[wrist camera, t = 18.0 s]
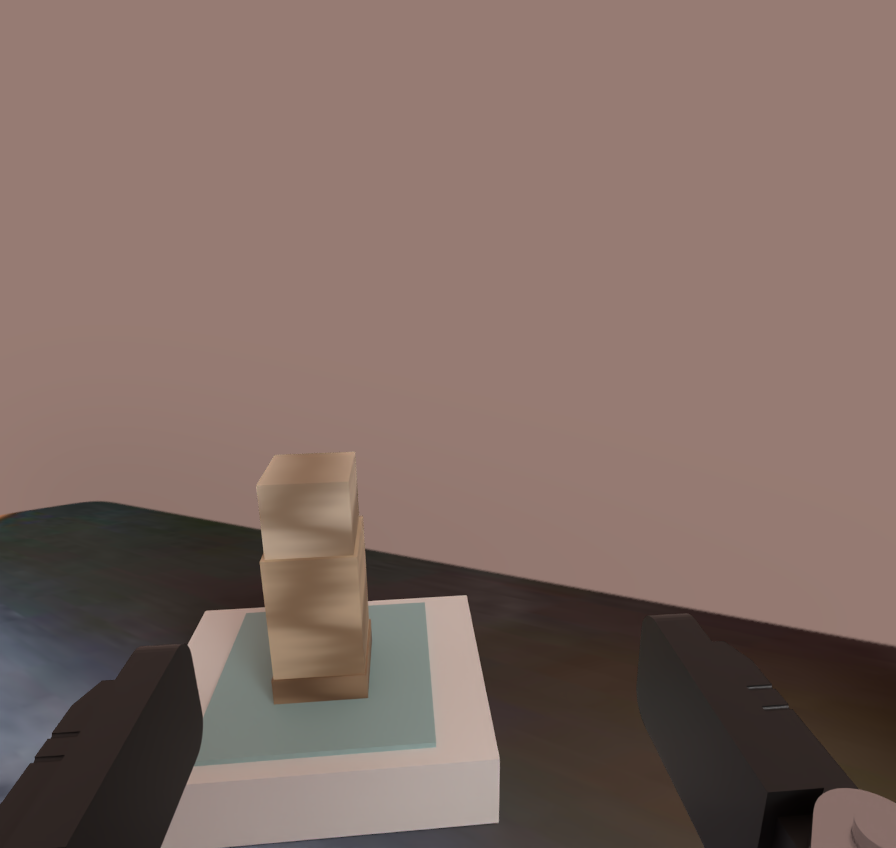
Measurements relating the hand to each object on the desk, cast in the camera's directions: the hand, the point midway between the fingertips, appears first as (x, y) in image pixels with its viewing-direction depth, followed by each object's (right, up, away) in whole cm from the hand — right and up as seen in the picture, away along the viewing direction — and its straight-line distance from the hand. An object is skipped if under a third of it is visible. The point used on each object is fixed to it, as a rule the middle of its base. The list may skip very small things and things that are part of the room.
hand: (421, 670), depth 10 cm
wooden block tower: (-7, -10, +24) cm, 26 cm away
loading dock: (-7, -14, +25) cm, 29 cm away
